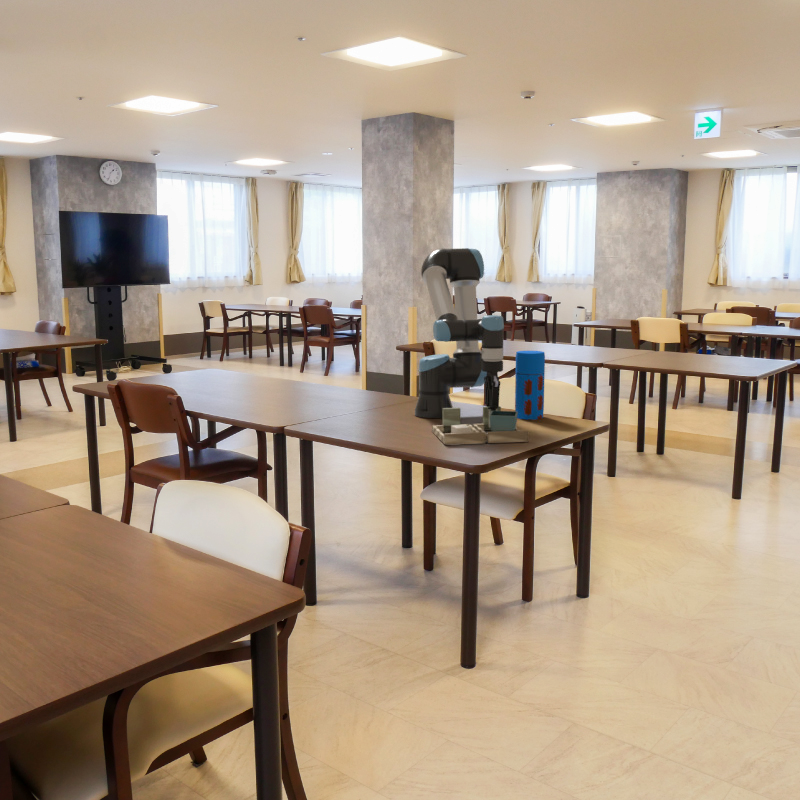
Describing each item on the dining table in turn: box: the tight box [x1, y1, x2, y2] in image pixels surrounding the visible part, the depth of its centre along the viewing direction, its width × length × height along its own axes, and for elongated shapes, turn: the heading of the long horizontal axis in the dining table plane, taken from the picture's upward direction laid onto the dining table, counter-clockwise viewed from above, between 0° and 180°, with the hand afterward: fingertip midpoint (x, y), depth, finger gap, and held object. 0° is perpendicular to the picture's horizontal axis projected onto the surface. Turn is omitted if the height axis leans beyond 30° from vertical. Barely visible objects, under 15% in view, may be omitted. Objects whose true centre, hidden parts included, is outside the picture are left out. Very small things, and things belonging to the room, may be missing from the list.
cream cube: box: [450, 425, 471, 433], centre depth 277 cm, size 5×5×5 cm
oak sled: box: [471, 405, 530, 444], centre depth 283 cm, size 23×14×8 cm, turn 8°
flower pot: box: [490, 410, 518, 432], centre depth 278 cm, size 9×9×9 cm
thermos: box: [514, 350, 546, 421], centre depth 317 cm, size 11×11×25 cm
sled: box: [431, 407, 487, 446], centre depth 281 cm, size 23×14×8 cm, turn 8°
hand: (491, 426), depth 294 cm, fingers closed on oak sled, 2 cm apart
